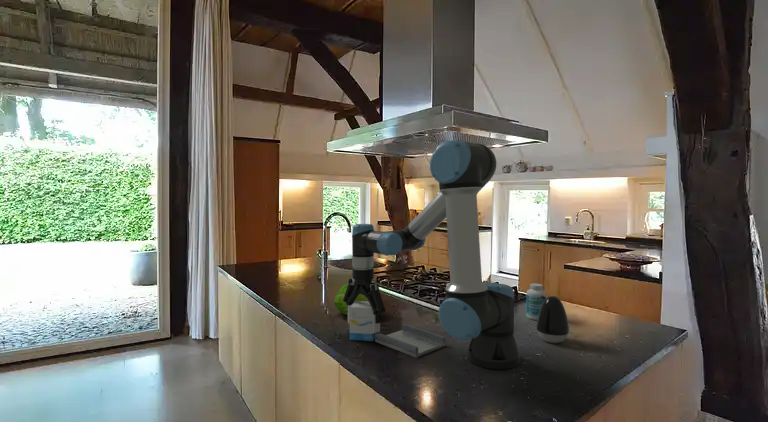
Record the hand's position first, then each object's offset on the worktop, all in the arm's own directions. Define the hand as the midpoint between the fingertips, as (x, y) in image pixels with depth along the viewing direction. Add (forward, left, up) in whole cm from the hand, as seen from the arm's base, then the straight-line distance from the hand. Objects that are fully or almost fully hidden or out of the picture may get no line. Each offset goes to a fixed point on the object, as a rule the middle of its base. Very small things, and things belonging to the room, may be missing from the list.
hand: (363, 327), depth 144 cm
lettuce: (+22, -14, -3) cm, 27 cm away
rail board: (-16, -6, -3) cm, 18 cm away
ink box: (0, 0, -3) cm, 3 cm away
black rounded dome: (-48, -43, -3) cm, 65 cm away
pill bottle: (-32, -63, -3) cm, 71 cm away
